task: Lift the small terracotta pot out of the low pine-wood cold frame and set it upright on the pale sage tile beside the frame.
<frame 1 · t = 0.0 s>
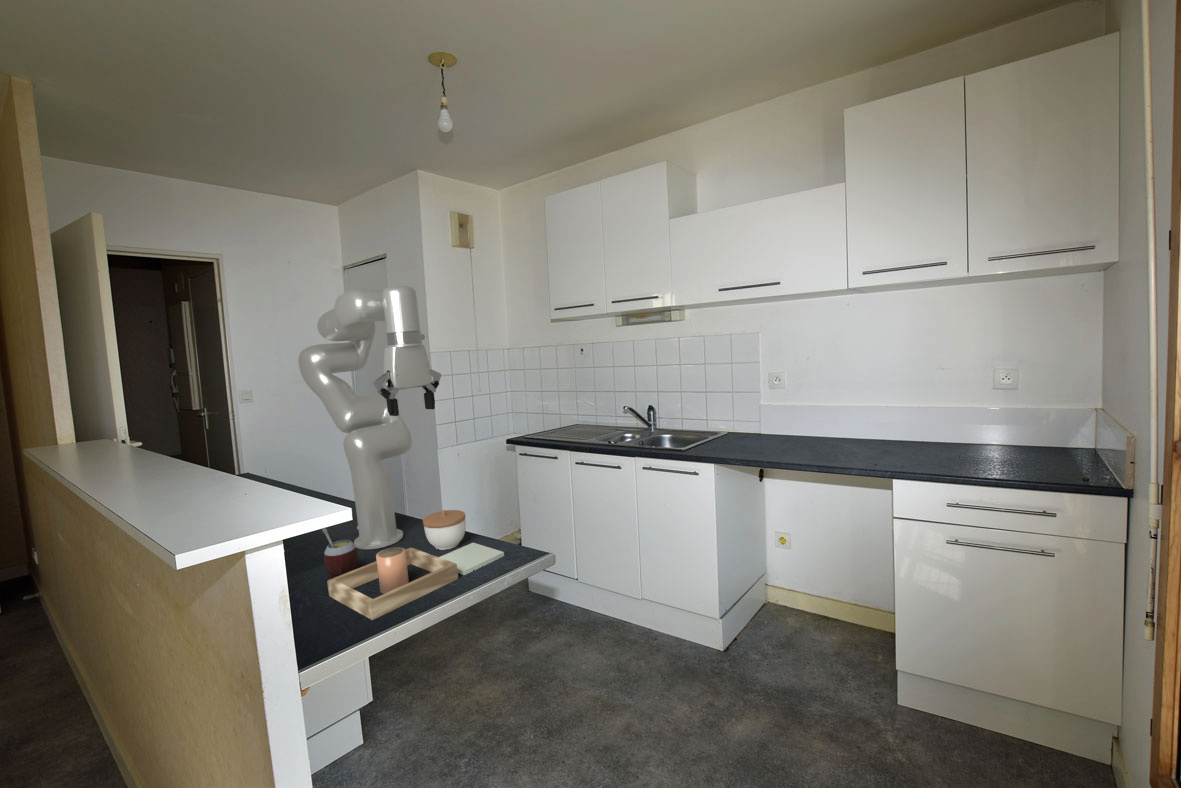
hand: (412, 412, 128), 37 cm above the kitchen counter, tool pointing down, fingers open, 9 cm apart
terracotta pot: (392, 569, 118), in the cold frame
lidded jar: (447, 545, 141), on the kitchen counter
sage tile: (469, 559, 130), on the kitchen counter
mate gourd: (342, 578, 126), on the kitchen counter
cold frame: (394, 587, 118), on the kitchen counter
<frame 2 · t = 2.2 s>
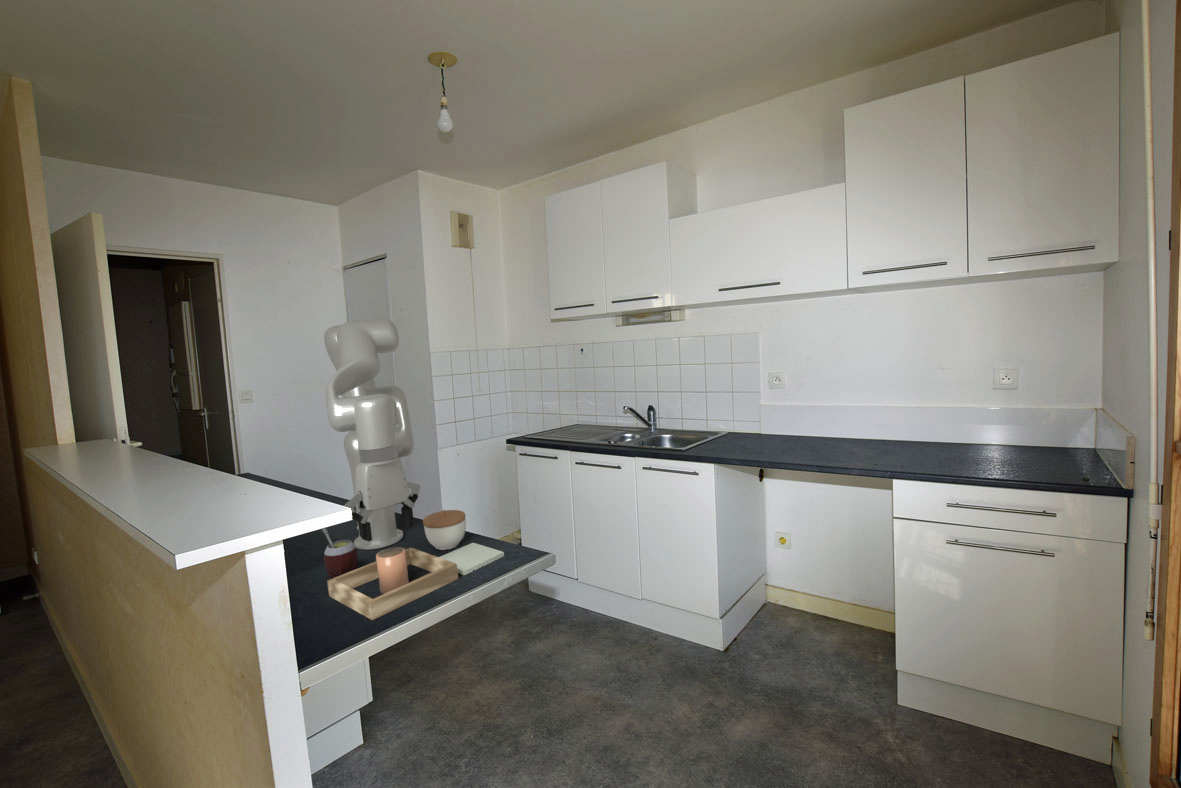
hand: (388, 532, 116), 13 cm above the kitchen counter, tool pointing down, fingers open, 9 cm apart
nothing on the kitchen counter moved.
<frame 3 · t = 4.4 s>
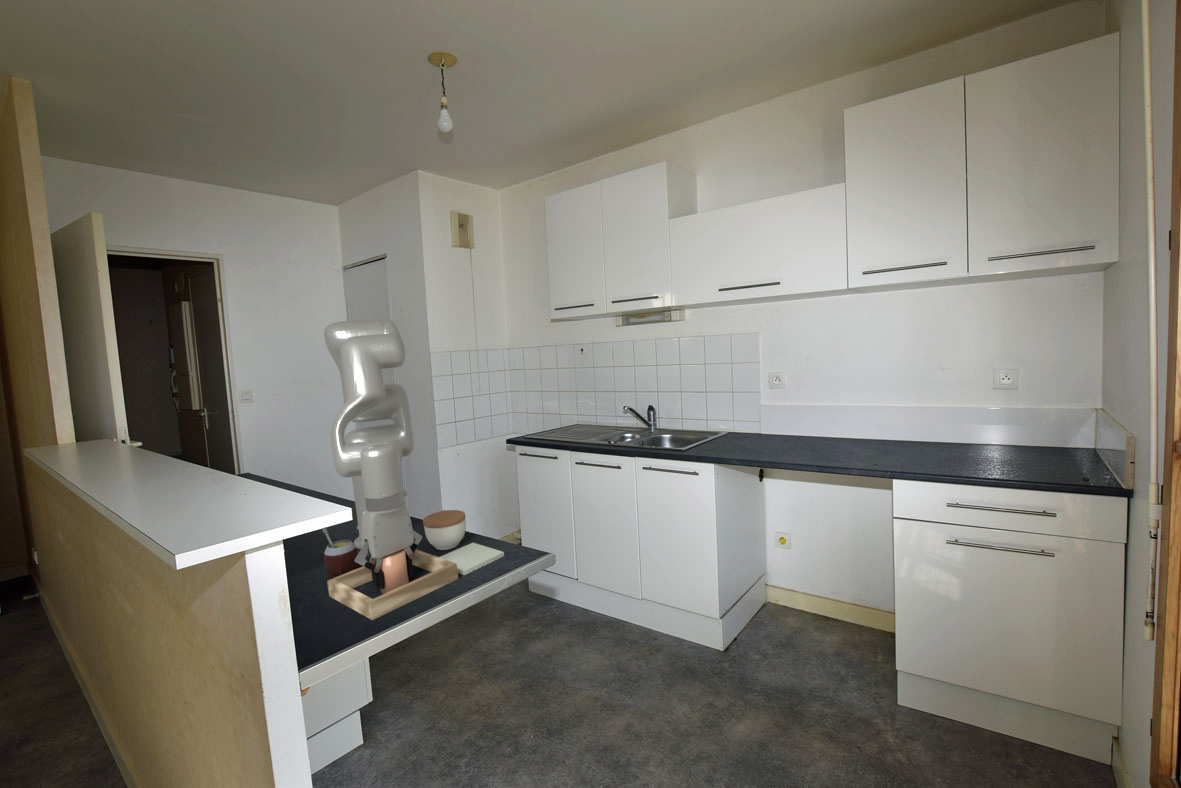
hand: (393, 580, 118), 2 cm above the kitchen counter, tool pointing down, fingers closed on terracotta pot, 6 cm apart
terracotta pot: (392, 569, 118), in the cold frame, touching gripper
everything else where it was.
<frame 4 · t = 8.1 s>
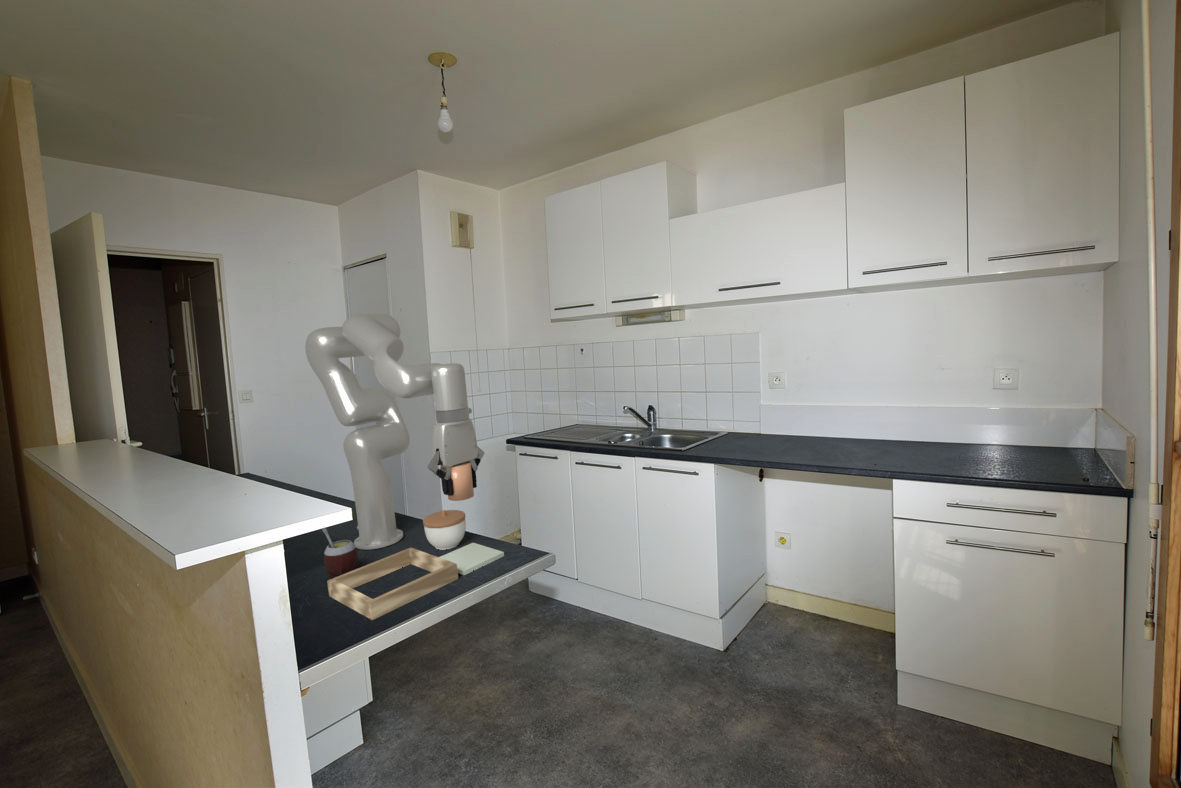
hand: (460, 490, 128), 18 cm above the kitchen counter, tool pointing down, fingers closed on terracotta pot, 6 cm apart
terracotta pot: (459, 480, 128), point 20 cm above the kitchen counter, touching gripper
everything else where it was.
when the fingers open (3 cm above the kitchen counter, at t = 11.7 s): terracotta pot stays where it is, resting on sage tile.
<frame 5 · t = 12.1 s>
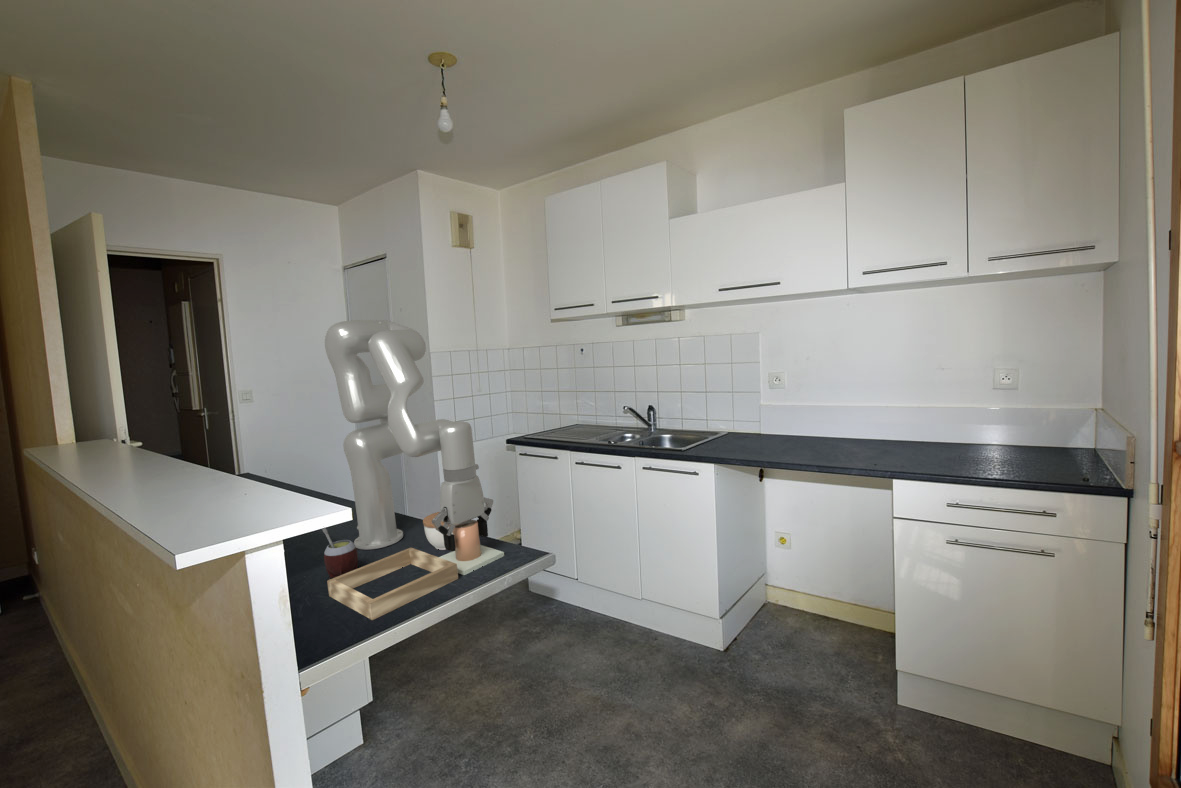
hand: (467, 542, 130), 4 cm above the kitchen counter, tool pointing down, fingers open, 9 cm apart
terracotta pot: (466, 539, 130), on the sage tile, point 5 cm above the kitchen counter
everything else where it was.
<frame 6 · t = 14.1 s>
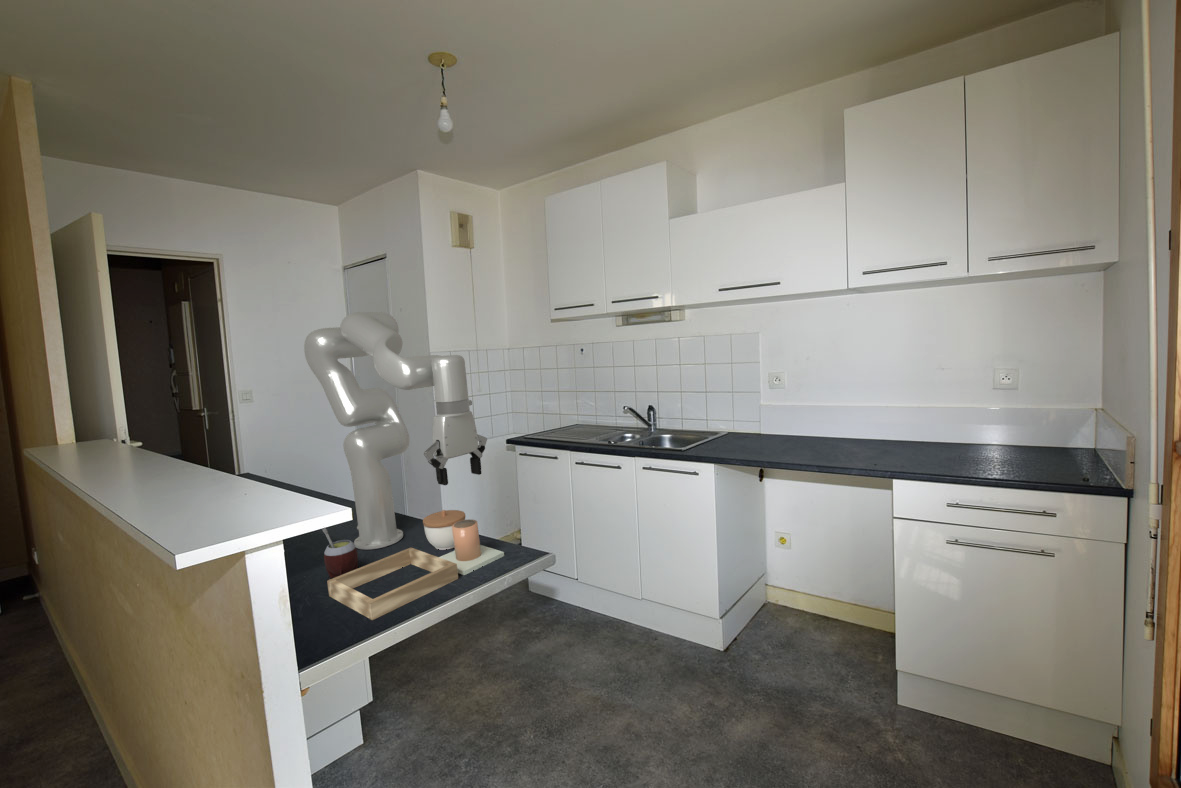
hand: (460, 478, 128), 20 cm above the kitchen counter, tool pointing down, fingers open, 9 cm apart
nothing on the kitchen counter moved.
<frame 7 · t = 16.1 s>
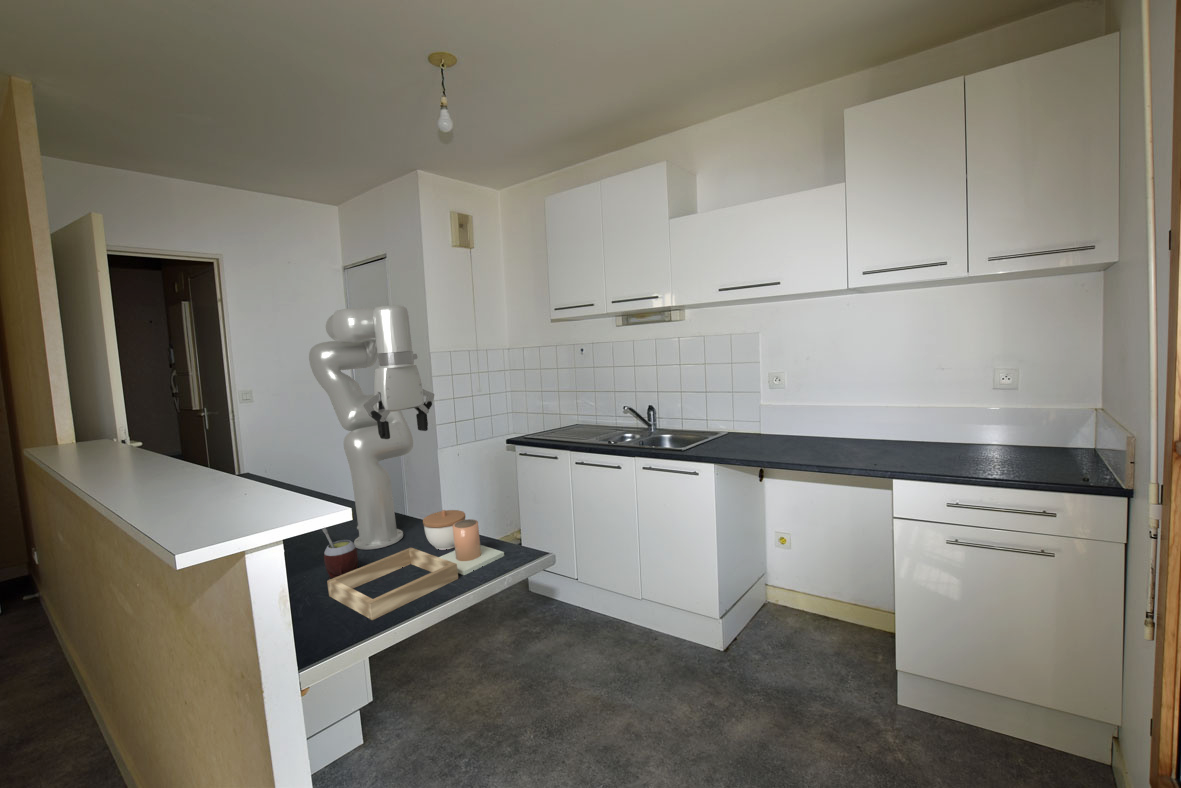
hand: (404, 434, 124), 32 cm above the kitchen counter, tool pointing down, fingers open, 9 cm apart
nothing on the kitchen counter moved.
at the end: terracotta pot inside the target area on the sage tile (0.1 cm from its centre), point 5.1 cm above the sage tile's base; terracotta pot tilted 1°; the gripper is holding nothing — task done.
